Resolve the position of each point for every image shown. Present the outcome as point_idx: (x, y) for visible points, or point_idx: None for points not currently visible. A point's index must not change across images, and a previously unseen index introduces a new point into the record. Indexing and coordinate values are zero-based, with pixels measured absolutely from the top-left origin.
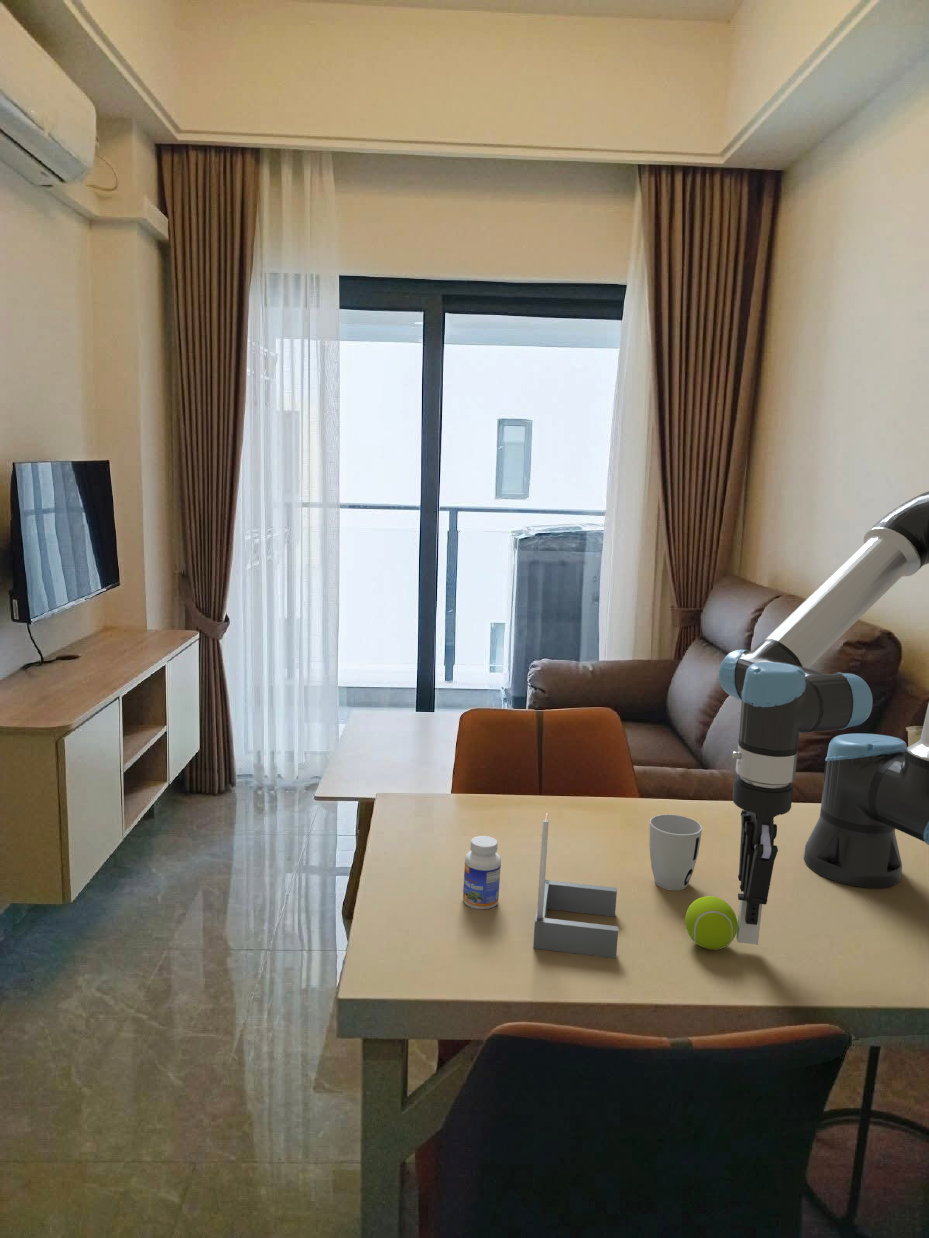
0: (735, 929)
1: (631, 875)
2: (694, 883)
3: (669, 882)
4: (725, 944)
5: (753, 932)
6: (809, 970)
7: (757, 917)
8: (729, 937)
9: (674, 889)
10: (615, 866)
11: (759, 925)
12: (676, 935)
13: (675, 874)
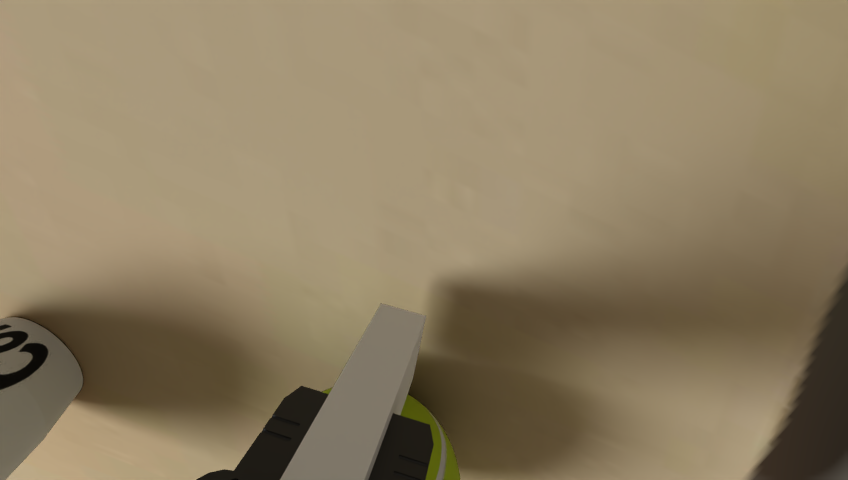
0: None
1: None
2: (7, 293)
3: (62, 404)
4: (450, 443)
5: (408, 370)
6: (567, 120)
7: (425, 470)
8: (451, 466)
9: (77, 370)
10: None
11: (401, 380)
12: None
13: (30, 425)
